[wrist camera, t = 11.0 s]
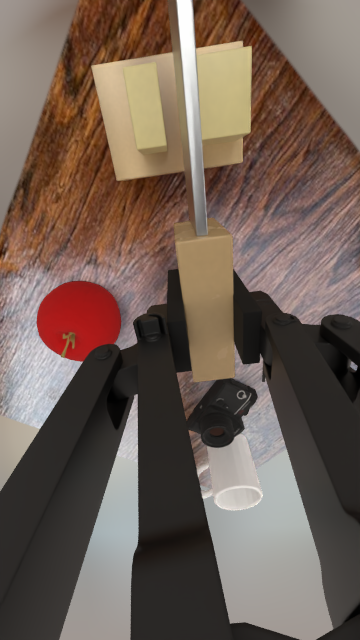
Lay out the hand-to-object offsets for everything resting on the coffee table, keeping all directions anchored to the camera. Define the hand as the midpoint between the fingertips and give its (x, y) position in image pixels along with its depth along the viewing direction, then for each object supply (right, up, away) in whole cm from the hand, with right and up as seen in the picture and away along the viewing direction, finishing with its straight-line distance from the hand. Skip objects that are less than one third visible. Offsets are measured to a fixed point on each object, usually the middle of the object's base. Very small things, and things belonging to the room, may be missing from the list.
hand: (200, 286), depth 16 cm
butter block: (+1, +13, +2) cm, 14 cm away
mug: (+6, -27, +33) cm, 43 cm away
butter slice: (-4, +13, +2) cm, 13 cm away
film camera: (+6, -17, +27) cm, 33 cm away
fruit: (-13, 0, +17) cm, 21 cm away
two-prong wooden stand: (-2, +16, +8) cm, 18 cm away
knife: (-1, +5, -3) cm, 6 cm away
